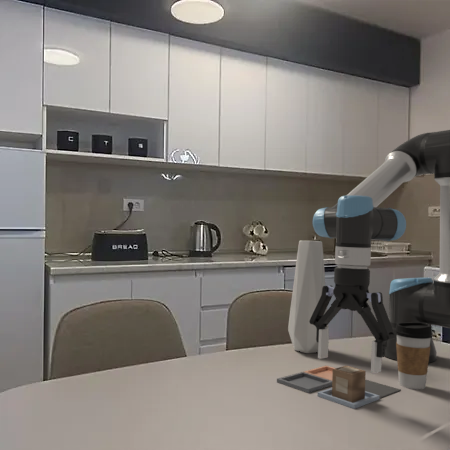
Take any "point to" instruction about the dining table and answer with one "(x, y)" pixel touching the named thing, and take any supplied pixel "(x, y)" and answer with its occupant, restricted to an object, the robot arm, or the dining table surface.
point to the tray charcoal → (305, 382)
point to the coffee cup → (413, 353)
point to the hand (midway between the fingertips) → (348, 364)
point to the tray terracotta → (322, 372)
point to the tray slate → (368, 399)
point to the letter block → (348, 383)
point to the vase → (306, 295)
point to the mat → (379, 389)
